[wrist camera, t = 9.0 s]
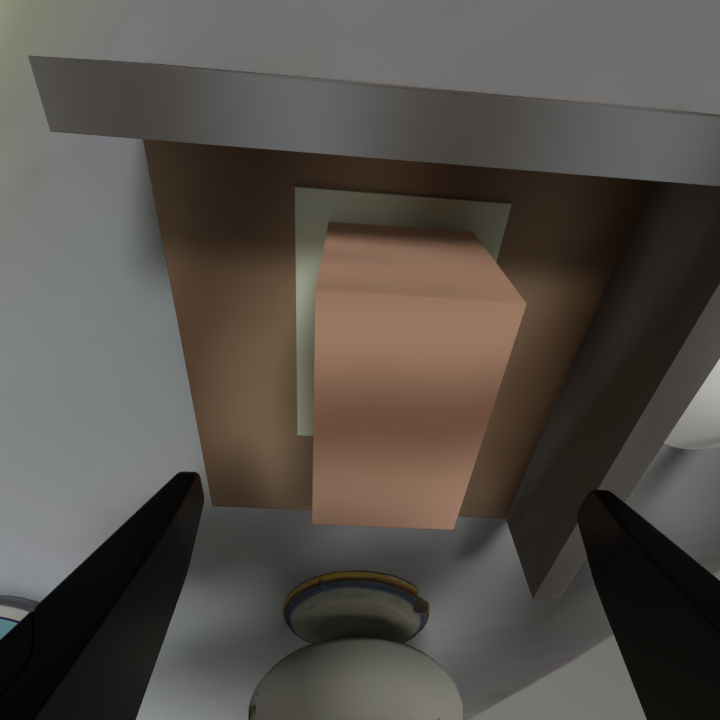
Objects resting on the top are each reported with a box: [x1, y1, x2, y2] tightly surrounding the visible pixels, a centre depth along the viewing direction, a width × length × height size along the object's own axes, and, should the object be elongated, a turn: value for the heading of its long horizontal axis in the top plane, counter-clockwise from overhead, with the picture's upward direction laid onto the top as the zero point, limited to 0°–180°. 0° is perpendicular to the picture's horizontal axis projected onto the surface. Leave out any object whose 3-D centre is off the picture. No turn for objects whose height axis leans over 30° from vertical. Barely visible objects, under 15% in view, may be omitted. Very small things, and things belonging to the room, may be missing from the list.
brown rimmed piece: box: [28, 56, 720, 600], centre depth 15 cm, size 16×18×5 cm
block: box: [312, 222, 527, 530], centre depth 13 cm, size 8×4×5 cm, turn 176°
